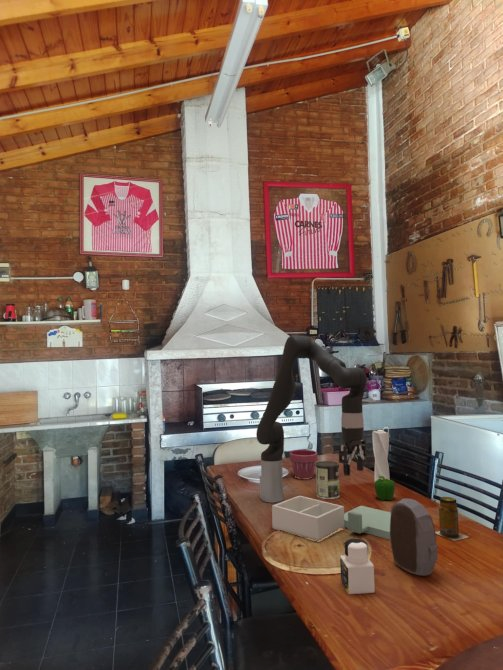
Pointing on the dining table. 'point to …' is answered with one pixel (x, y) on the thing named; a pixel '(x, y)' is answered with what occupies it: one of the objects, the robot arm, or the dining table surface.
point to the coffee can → (327, 480)
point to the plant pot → (303, 462)
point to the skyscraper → (381, 453)
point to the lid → (368, 521)
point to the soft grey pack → (413, 537)
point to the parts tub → (307, 517)
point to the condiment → (449, 519)
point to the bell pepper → (384, 488)
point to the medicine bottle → (357, 568)
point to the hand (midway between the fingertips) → (353, 472)
